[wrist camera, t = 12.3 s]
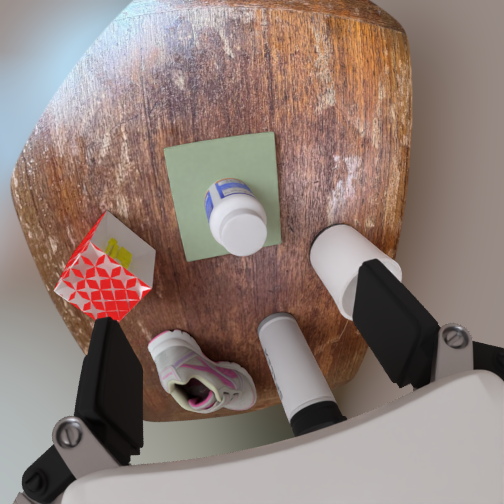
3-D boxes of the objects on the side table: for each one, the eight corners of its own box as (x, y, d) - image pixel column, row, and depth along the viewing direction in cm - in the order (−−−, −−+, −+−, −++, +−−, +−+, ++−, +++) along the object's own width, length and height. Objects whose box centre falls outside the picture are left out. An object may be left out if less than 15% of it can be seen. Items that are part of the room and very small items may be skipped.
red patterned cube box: (156, 250, 36) (152, 288, 29) (119, 289, 37) (110, 330, 30) (106, 209, 32) (89, 240, 25) (72, 253, 33) (53, 290, 26)
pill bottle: (228, 229, 36) (245, 275, 27) (193, 202, 33) (199, 242, 25) (260, 196, 34) (288, 232, 26) (226, 166, 32) (244, 193, 24)
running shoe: (229, 398, 54) (239, 440, 46) (133, 351, 43) (130, 402, 34) (264, 375, 52) (279, 419, 44) (169, 319, 41) (171, 373, 33)
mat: (163, 148, 30) (163, 149, 29) (272, 131, 32) (274, 132, 31) (186, 258, 37) (186, 262, 36) (279, 240, 39) (281, 243, 38)
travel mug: (304, 319, 47) (358, 422, 30) (276, 345, 49) (318, 448, 32) (277, 303, 44) (330, 418, 27) (248, 332, 46) (286, 446, 29)
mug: (306, 224, 39) (343, 266, 30) (364, 216, 40) (408, 252, 31) (303, 291, 44) (332, 339, 35) (355, 280, 46) (390, 321, 37)
